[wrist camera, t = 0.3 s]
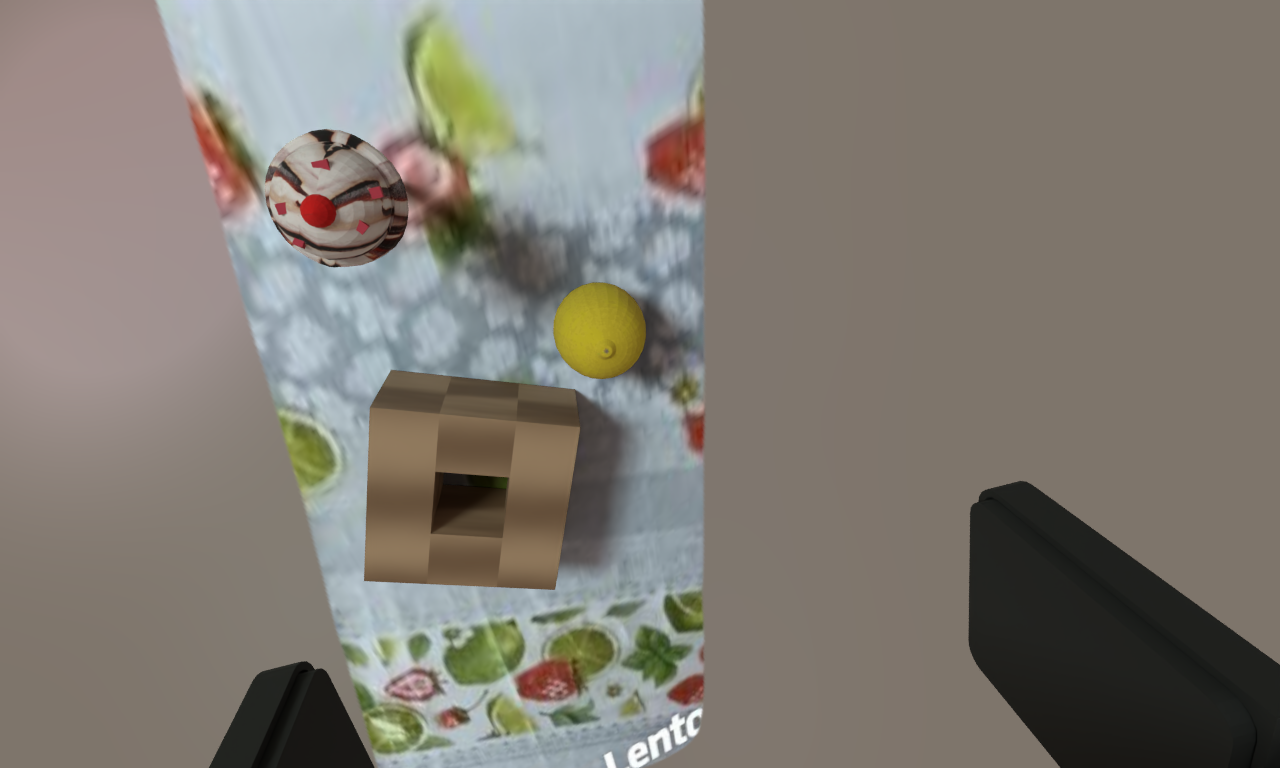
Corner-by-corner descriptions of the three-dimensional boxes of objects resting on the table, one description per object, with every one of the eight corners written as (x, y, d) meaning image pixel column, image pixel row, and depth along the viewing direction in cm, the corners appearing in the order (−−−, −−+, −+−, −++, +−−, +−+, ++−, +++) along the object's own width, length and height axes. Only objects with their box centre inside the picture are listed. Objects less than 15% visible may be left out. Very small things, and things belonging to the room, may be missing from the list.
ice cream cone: (359, 237, 40) (265, 301, 26) (323, 137, 37) (199, 150, 24) (453, 216, 40) (410, 269, 26) (423, 116, 38) (358, 116, 24)
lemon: (647, 332, 44) (669, 375, 37) (571, 363, 45) (578, 412, 37) (618, 257, 42) (635, 286, 35) (538, 289, 42) (538, 326, 35)
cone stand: (391, 369, 43) (369, 407, 37) (574, 389, 45) (580, 427, 40) (384, 526, 47) (364, 581, 42) (552, 536, 49) (554, 589, 44)
